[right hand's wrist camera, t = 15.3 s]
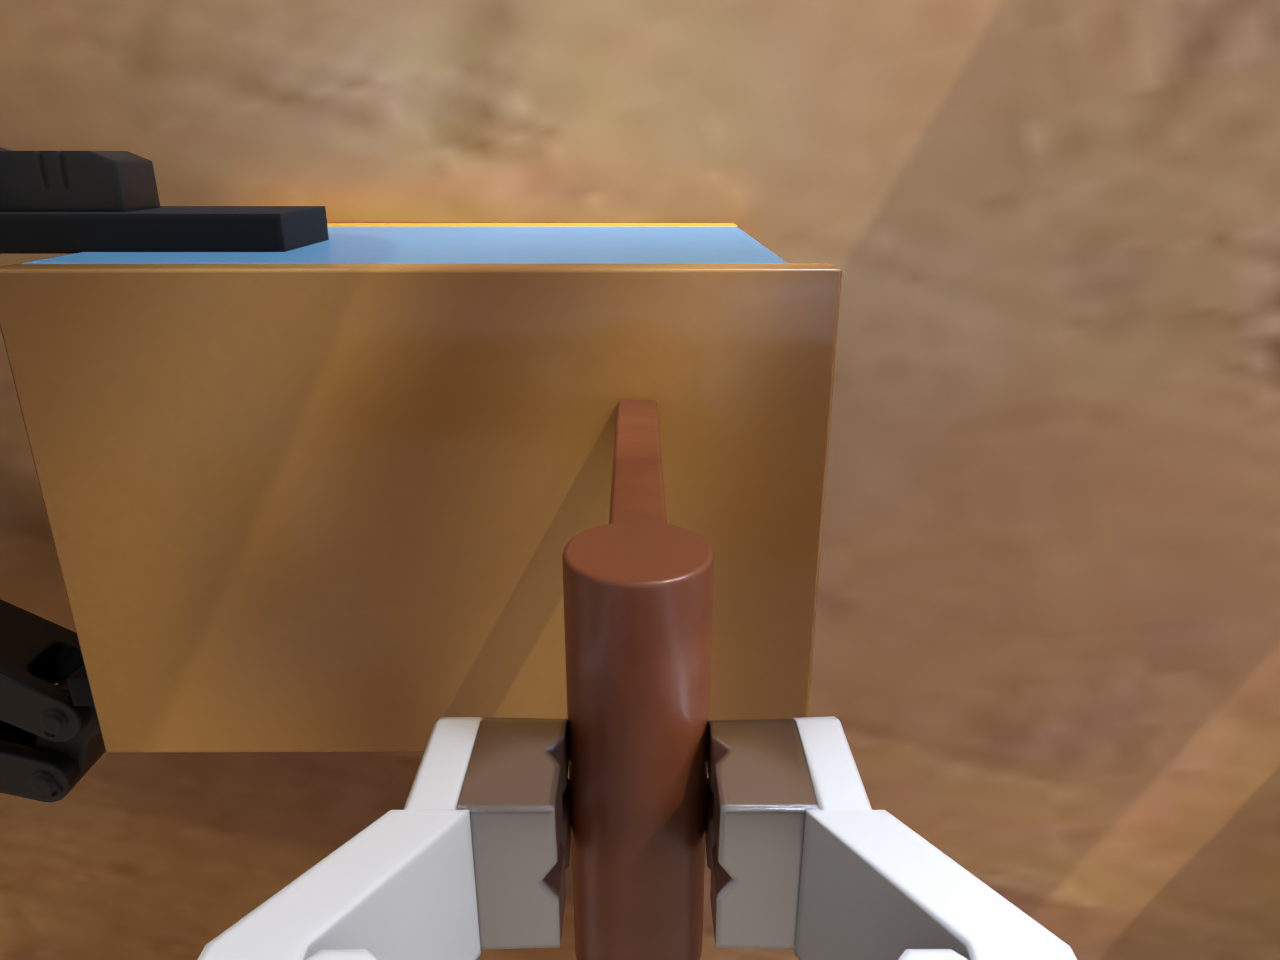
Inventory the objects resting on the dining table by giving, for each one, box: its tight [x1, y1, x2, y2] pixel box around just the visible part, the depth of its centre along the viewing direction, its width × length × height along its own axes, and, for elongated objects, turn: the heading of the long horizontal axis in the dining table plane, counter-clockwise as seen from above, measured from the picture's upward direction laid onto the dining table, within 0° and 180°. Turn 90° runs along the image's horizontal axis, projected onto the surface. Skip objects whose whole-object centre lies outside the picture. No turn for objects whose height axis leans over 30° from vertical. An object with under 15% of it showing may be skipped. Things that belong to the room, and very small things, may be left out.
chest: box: [21, 223, 786, 264], centre depth 22 cm, size 14×10×10 cm
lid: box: [0, 263, 842, 960], centre depth 14 cm, size 14×10×8 cm
